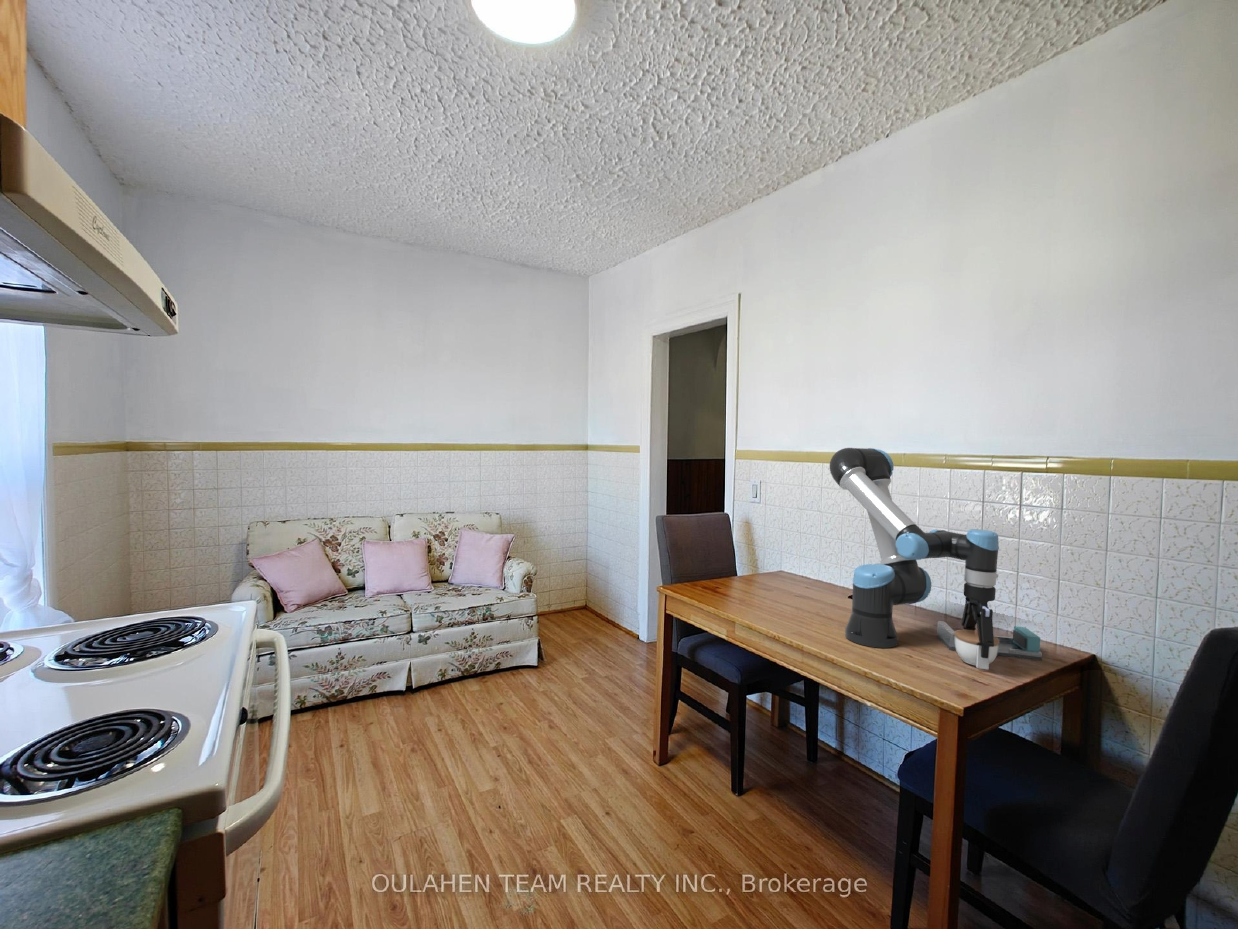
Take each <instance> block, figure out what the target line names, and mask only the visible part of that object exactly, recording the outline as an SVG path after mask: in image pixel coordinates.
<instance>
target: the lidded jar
mask: <svg viewBox="0 0 1238 929" xmlns="http://www.w3.org/2000/svg"><path fill="white" fill-rule="evenodd" d="M954 631H955V648H956V654H958V656H959V657H960V658H961V660H962V662H964V663H966V664H968V665H970V666H975V667H976V665H977V649H978V645H977V644H976V643H979V636H978V629H976V630H966V629H963V628H962V629H956V630H954ZM995 636H996V635H994V636H993V637H994V647H990V654H989V665H990V664H992V663H993V662H994V661H995V659H996V658H997V656H998V655H997V653H998V647H999V639H998V638H997V637H995Z"/></svg>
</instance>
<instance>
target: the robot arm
mask: <svg viewBox="0 0 1238 929" xmlns="http://www.w3.org/2000/svg"><path fill="white" fill-rule="evenodd" d="M894 468H895V467H894V462H893V459H892V458H891V456H890V454H889V453H887V452H886V451H884V450H882V449H878V448H873V447H872V448H871V447H870V448H867V447H866V448H862V447H860V448H858V447H856V448H855V447H844V448H841V449H840V450H838V451H836V452H835V453H834V454H833V455H832V457H831V458H830V462H829V471H830V475H831V477H832V478H833V480H834V481H835V483H837V485H838V486H839V487H840V488H841V489H842V490H847V491H848V492H849V493H850V494H851V495H852V496H853V497H854V498H855V499H856V500H857V502H859V503H860V504H861V506H862V507H863V508H864V509H865V510H866V512H867V515H868V518H869V522H870V524H871V529H872V532H873V536H874V539H875V542H876V546H877V548H878V549H877V550H878V552H879V555H880V559H881V561H880V562H879V563H869V564H868V563H867V564H861V565H859V566H857V567H855V569H854V571H853V577H852V601H851V602H852V605H851V614H850V617H849V620H848V622H847V624H846V626H845V632H844V636H845V638H846V639H847V640H849V641H851V642H852V643H854V644H858V645H861V646H865V647H870V648H879V649H885V648H886V649H889V648H893V647H896V646H898V634H897V631H896V627H895V624H894V620H893V611H894V610H893V607H894V606H901V605H902V606H903V605H912V604H917V603H920V602H923V601H925V600H926V599H927V598H928V597H929V595H930V593H931V590H932V579H931V576H930V574H929V573H928V572H927V571H926V570H925V569H924V568H922V567H920V566H919V564H918V561H920V560H923V559H924V560H925V559H939V558H940V559H941V558H942V559H943V558H952V559H956V560H959V561H965V563H964V566H965V567H964V577H963V578H964V579H963V581H964V582H965V583H964V584H963V596H964V597H965V603H964V608H963V613H962V619H961V622H960V623H961V626H962V627H963V628H962V629H966V630H978V636H979V643H976V644H977V645H978V649H977V665H976V666H975V668H977V669H981V670H989V667H990V664H989V654H990V647H994V637H993V635H994V625H993V624H994V621H993V614H994V613H993V612H994V610H993V609H990V608H989V602H993V601H994V602H995V600H996V592H997V589H996V588H995V586H996V585H997V578H999V574H997V570H998V557H999V556H998V555H999V550H1000V547H999V534H998V533H997V532H996V531H992V530H986V529H979V528H978V529H973V528H971V529H969V530H967V532H966V534H962V533H958V532H953V531H952V532H951V531H948V530H944V529H942V530H941V529H931V530H930V531H929V532H925V531H924V530H923V529H921V528H920V526H918V525H917V524H916V523H915V522H914V521H913V520H912V519H911V518H910V517H909V516H908V515H907V514H906V513H905V512H904V511H903V510H902V509H901V508H900V507H899V506H898V505H897V504H896V503H895V502H894V501H893V498H892V495H891V492H890V490H889V486H890V484H891V483H892V479H891V477H892V475H893V471H894Z"/></svg>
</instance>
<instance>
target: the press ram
mask: <svg viewBox="0 0 1238 929" xmlns="http://www.w3.org/2000/svg"><path fill="white" fill-rule="evenodd" d="M1012 637H1013V642H1014V643H1016V644H1017V645H1018V646H1019V647H1021V648H1022V649H1023V650H1027V651H1036V652H1041V649H1040V648H1041V637H1040V636H1038V635H1037V634H1036V633H1035V632H1033V631H1031V630H1030V629H1028V628H1027V627H1026V626H1025V627H1024V626H1018V625H1017V626H1016V625H1014V626H1013V630H1012Z"/></svg>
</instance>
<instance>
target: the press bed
mask: <svg viewBox="0 0 1238 929" xmlns="http://www.w3.org/2000/svg"><path fill="white" fill-rule="evenodd" d="M955 631H956V630H954V629H953V628H952V627H951V626H949V624H948V623H947V622H946V621H941V620H937V632H936V634H937V635H936V636H937V638H939V640H940V641H941V643H943V644H944V645H945V647H946V648H947V649H948V650H949V651H956V648H955ZM993 636H995V637H997V638H998V639H999V647H998V653H997V656H999V657H1007V658H1008V657H1009V658H1015V659H1016V658H1017V659H1025V660H1035V661H1042V660H1043V659H1042V658H1043V653H1042V652H1041V651H1040V652H1036V651H1027V650H1023V649H1022V648H1021V647H1019V646H1018V645H1017V644H1016V643H1014V642H1013V636H1003V635H994V634H993ZM956 652H957V651H956Z"/></svg>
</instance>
